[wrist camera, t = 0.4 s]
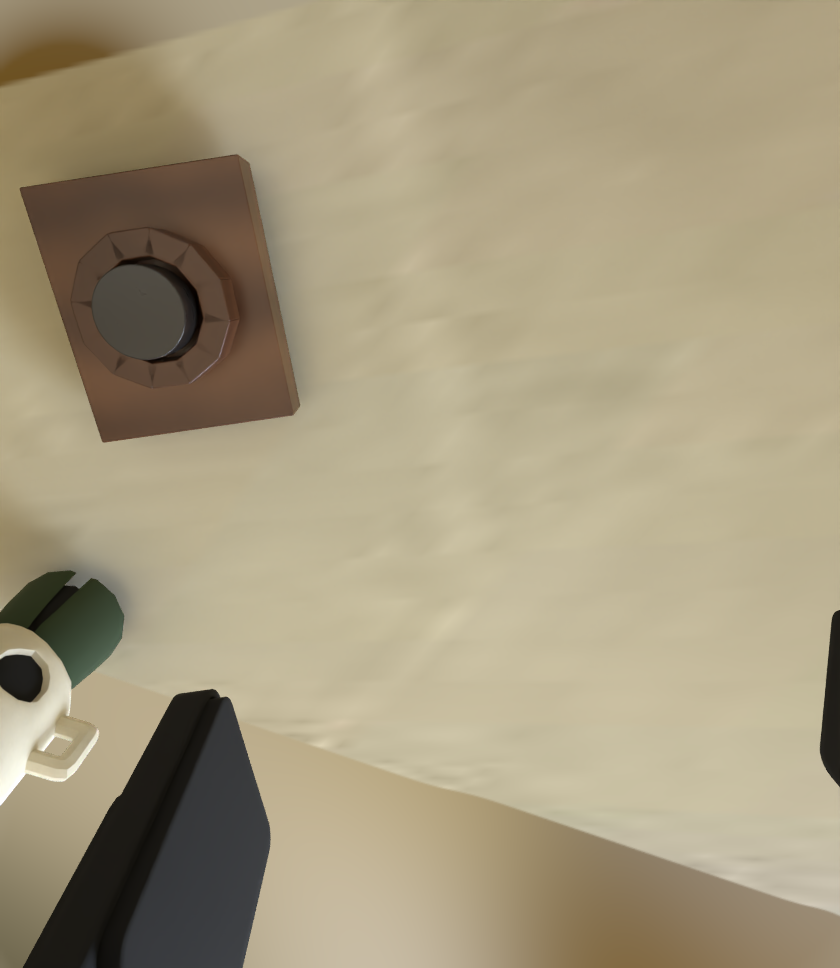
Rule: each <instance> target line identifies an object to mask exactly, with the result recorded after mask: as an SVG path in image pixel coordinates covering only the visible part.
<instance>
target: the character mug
mask: <svg viewBox="0 0 840 968" xmlns="http://www.w3.org/2000/svg"><path fill="white" fill-rule="evenodd" d="M75 574H76V573H75V572H73V571H59V572H48V573H46V574H44V575H42V576H41V577H39V578H37V579H35V580H33V581H32V582H30V583H28V584H27V585H26V586H25V587H24V588H23V589H22V590H21V591H20V592H19V593H18V594H17V595H16V596H15V597H14V598H13V599H12V600H11V601H10V602H9V603H8V604H7V605H6V606H5V607H4V609H3V610H2V611H1V612H0V806H1V804H2V803H3V802H4V801H5V799H6V798H7V797H8V795H9V794H10V793H11V792H12V790H13V789H14V788H15V787H16V785H17V784H18V783H19V782H20V780H21V779H22V778H23V776H24V775H25V774H26V773H27V774H30V775H34V776H37V777H41V778H44V779H48V780H51V781H65V780H66V779H67V778H69V777H70V776H71V775H72V774H73V773H75V772H76V770H77V769H78V767H79V766H80V765H81V763H82V762H83V760H84V759H85V757H86V756H87V754H88V753H89V751H90V750H91V749H92V747H93V746H94V744H95V743H96V741H97V740H98V735H99V731H98V729H97V727H95V726H94V725H92V724H91V723H88V722H85V721H82V720H79V719H76V718H73V717H69V716H68V715H69V712H70V703H71V689H73V688H74V687H75V686H76V685H78V684H79V683H80V682H81V681H82V680H83V679H85V678H86V677H87V676H88V675H89V674H91V673H92V672H93V671H94V670H95V669H96V668H97V667H99V666H100V665H101V664H102V663H103V662H104V661H105V660H106V659H107V658H108V657H109V656H110V655H111V654H112V652H113V651H114V649H115V648H116V646H117V645H118V643H119V642H120V640H121V639H122V630H123V622H124V614H123V612H122V610H121V608H120V606H119V604H118V602H117V599H116V597H115V595H114V594H113V593H111V592H110V591H109V590H108V589H107V588H106V587H105V586H104V585H102V584H101V583H100V582H99V581H98V580H96V579H93V578H91V579H90V580H89V581H88V582H87V583H85V584H84V585H83V586H82V587H81V588H80V589H78V588H77V587H75V586H65V584H66V583H67V582H68V581H69V580H70V579H71V578H72V577H73V576H74V575H75ZM55 736H56V737H59V738H62V739H65V740H69V741H72V742H71V743H70V745H69V746H68V747H67V749H66V750H65V751H64V753H63V754H62V756H56V755H53V754H50V753H47V752H43V751H44V750H45V749H46V747H47V746H48V745H49V744H50V742H51V741H52V740H53V739H54V737H55Z"/></svg>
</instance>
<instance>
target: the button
mask: <svg viewBox="0 0 840 968" xmlns="http://www.w3.org/2000/svg"><path fill="white" fill-rule="evenodd" d="M91 308H92V315H93V319H94V322H95V325H96V327H97V329H98V331H99V333H100V334H101V336H102V337H103V338H104V339H105V341H106V342H107V343H108V344H109V345H110V346H111V347H113V348H114V349H115V350H117V351H118V352H120V353H122V354H123V355H126V356H128V357H131V358H134V359H139V360H152V359H157V358H160V357H163V356H166V355H168V354H171V353H174V352H176V351H178V350H180V349H182V348H183V347H184V346H185V345H186V344H187V343H188V342H189V341H190V340H191V338H192V337H193V335H194V333H195V330H196V327H197V322H198V310H197V305H196V302H195V299H194V296H193V294H192V292H191V291H190V289H189V287H188V286H187V285H186V283H185V282H184V281H183V280H182V279H181V278H180V277H179V276H177V275H176V274H175V273H173V272H172V271H170V270H168V269H166V268H163V267H160V266H156V265H149V264H126V265H121V266H118V267H115V268H113V269H111V270H109V271H108V272H107V273H105V274H104V275H103V276H102V277H101V278H100V280H99V281H98V283H97V284H96V287H95V289H94V292H93V295H92V306H91Z"/></svg>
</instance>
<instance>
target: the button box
mask: <svg viewBox="0 0 840 968" xmlns="http://www.w3.org/2000/svg"><path fill="white" fill-rule="evenodd" d="M20 191H21V195H22V198H23V201H24V204H25V207H26V210H27V213H28V216H29V219H30V222H31V225H32V228H33V231H34V234H35V237H36V240H37V243H38V246H39V250H40V253H41V256H42V259H43V262H44V265H45V268H46V271H47V274H48V277H49V280H50V283H51V286H52V289H53V292H54V295H55V298H56V301H57V305H58V308H59V311H60V314H61V317H62V320H63V323H64V326H65V329H66V332H67V335H68V338H69V341H70V344H71V347H72V350H73V353H74V357H75V360H76V363H77V366H78V369H79V372H80V375H81V378H82V381H83V384H84V387H85V390H86V393H87V396H88V399H89V402H90V405H91V408H92V412H93V415H94V418H95V421H96V424H97V427H98V430H99V433H100V436H101V439H102V442H111V441H118V440H125V439H132V438H139V437H146V436H153V435H160V434H167V433H174V432H181V431H188V430H195V429H201V428H208V427H215V426H222V425H229V424H236V423H243V422H250V421H257V420H264V419H271V418H278V417H285V416H292V415H294V414H295V412H296V411H297V410H298V408H299V407H300V402H299V398H298V393H297V388H296V383H295V378H294V374H293V369H292V364H291V359H290V355H289V350H288V345H287V340H286V335H285V331H284V326H283V321H282V316H281V312H280V307H279V302H278V297H277V292H276V288H275V283H274V278H273V273H272V269H271V264H270V259H269V254H268V249H267V245H266V240H265V235H264V230H263V226H262V221H261V216H260V211H259V206H258V202H257V197H256V192H255V187H254V183H253V178H252V173H251V168H250V164H249V162H247V161H246V160H245V159H243V158H242V157H240V156H239V155H237V154H236V155H230V156H223V157H217V158H210V159H204V160H197V161H191V162H184V163H178V164H171V165H165V166H158V167H152V168H145V169H139V170H132V171H126V172H119V173H113V174H106V175H100V176H93V177H87V178H80V179H74V180H67V181H61V182H54V183H47V184H41V185H34V186H28V187H21V188H20ZM126 264H149V265H156V266H160V267H163V268H166V269H168V270H170V271H172V272H173V273H175V274H176V275H177V276H179V277H180V278H181V279H182V280H183V281H184V282H185V283H186V285H187V286H188V287H189V289H190V291H191V292H192V294H193V296H194V299H195V302H196V305H197V310H198V322H197V327H196V330H195V333H194V335H193V337H192V338H191V340H190V341H189V342H188V343H187V344H186V345H185V346H184V347H183V348H182V349H180V350H178V351H176V352H174V353H171V354H168V355H166V356H163V357H160V358H157V359H152V360H139V359H134V358H131V357H128V356H126V355H123V354H122V353H120V352H118V351H117V350H115V349H114V348H113V347H111V346H110V345H109V344H108V343H107V342H106V341H105V339H104V338H103V337H102V336H101V334H100V333H99V331H98V329H97V327H96V325H95V322H94V319H93V315H92V308H91V306H92V295H93V292H94V289H95V287H96V284H97V283H98V281H99V280H100V278H101V277H102V276H103V275H104V274H105V273H107V272H108V271H109V270H111V269H113V268H115V267H118V266H121V265H126Z"/></svg>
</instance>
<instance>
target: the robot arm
mask: <svg viewBox="0 0 840 968" xmlns="http://www.w3.org/2000/svg"><path fill="white" fill-rule="evenodd" d="M820 754H821V759H822V761H823V764H824V766H825V768H826V770H827V772H828V773H829V774H830V776H831V777H832V778H833V780H834V781H835V782H836V783H837V784H838V785H839V787H840V610H838V611H836V612H835V613H834V615H833V617H832V623H831V634H830V645H829V656H828V666H827V677H826V688H825V699H824V709H823V720H822V731H821V741H820ZM269 849H270V827H269V822H268V819H267V816H266V812H265V809H264V806H263V802H262V800H261V796H260V793H259V790H258V787H257V783H256V780H255V777H254V773H253V770H252V767H251V764H250V760H249V757H248V754H247V751H246V748H245V744H244V741H243V738H242V734H241V731H240V728H239V725H238V721H237V718H236V715H235V712H234V708H233V705H232V703H231V700H230V699H229V698H228V697H222V698H220V696H219V694H218V692H217V691H216V690H214V689H210V690H203V691H195V692H188V693H181V694H178V695H176V696H175V697H174V698H173V699H172V701H171V703H170V704H169V706H168V708H167V710H166V712H165V714H164V716H163V718H162V719H161V721H160V723H159V725H158V727H157V729H156V731H155V732H154V734H153V736H152V738H151V740H150V742H149V744H148V746H147V747H146V749H145V751H144V753H143V755H142V757H141V759H140V760H139V762H138V764H137V766H136V768H135V770H134V772H133V774H132V775H131V777H130V779H129V781H128V783H127V785H126V787H125V788H124V790H123V792H122V794H121V795H120V796H119V797H117V798H116V799H115V801H114V802H113V804H112V805H111V807H110V808H109V810H108V812H107V814H106V815H105V817H104V819H103V821H102V823H101V825H100V826H99V828H98V830H97V832H96V834H95V836H94V838H93V839H92V841H91V843H90V845H89V847H88V849H87V850H86V852H85V854H84V856H83V858H82V860H81V862H80V863H79V865H78V867H77V869H76V871H75V872H74V874H73V876H72V878H71V880H70V882H69V883H68V885H67V887H66V889H65V891H64V893H63V895H62V897H61V898H60V900H59V902H58V904H57V906H56V907H55V909H54V911H53V913H52V915H51V917H50V918H49V920H48V922H47V924H46V926H45V928H44V929H43V931H42V933H41V935H40V937H39V939H38V940H37V942H36V944H35V946H34V948H33V950H32V951H31V953H30V955H29V957H28V959H27V961H26V963H25V964H24V966H23V968H243V963H244V959H245V955H246V950H247V946H248V941H249V937H250V933H251V929H252V923H253V920H254V915H255V911H256V906H257V902H258V898H259V894H260V889H261V884H262V880H263V876H264V872H265V867H266V863H267V858H268V854H269Z"/></svg>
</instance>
